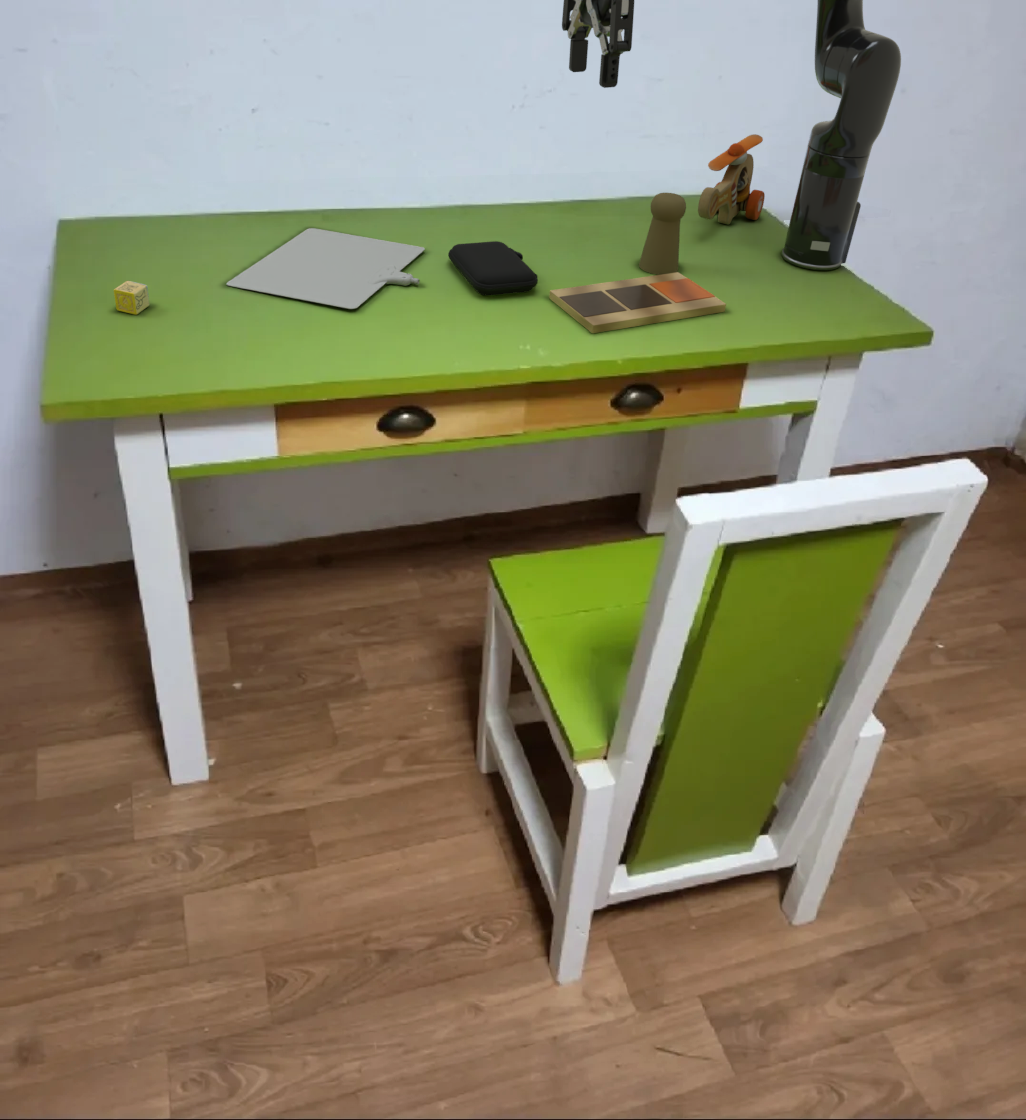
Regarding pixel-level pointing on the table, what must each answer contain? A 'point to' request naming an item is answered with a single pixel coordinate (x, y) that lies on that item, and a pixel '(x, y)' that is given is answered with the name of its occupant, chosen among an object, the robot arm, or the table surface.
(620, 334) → the table surface
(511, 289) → the carrying case
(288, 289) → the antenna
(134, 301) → the alphabet block
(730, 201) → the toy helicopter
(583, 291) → the board
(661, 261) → the olive brown pawn
